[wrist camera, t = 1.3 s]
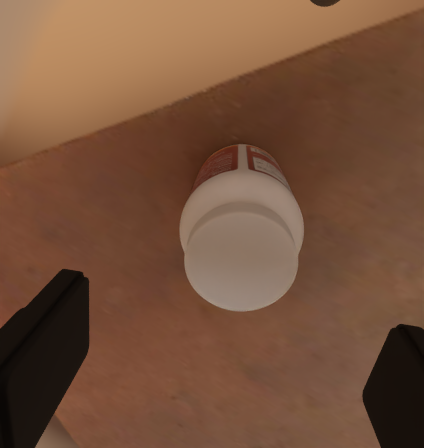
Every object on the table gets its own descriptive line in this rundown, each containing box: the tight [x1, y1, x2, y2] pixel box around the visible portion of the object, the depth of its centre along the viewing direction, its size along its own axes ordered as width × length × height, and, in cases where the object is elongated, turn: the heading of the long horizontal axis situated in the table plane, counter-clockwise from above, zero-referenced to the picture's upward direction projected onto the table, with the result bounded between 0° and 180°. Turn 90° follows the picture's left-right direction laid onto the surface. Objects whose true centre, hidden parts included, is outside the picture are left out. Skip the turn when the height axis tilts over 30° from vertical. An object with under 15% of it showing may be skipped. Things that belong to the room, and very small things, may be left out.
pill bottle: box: [180, 144, 304, 311], centre depth 18 cm, size 6×6×11 cm
